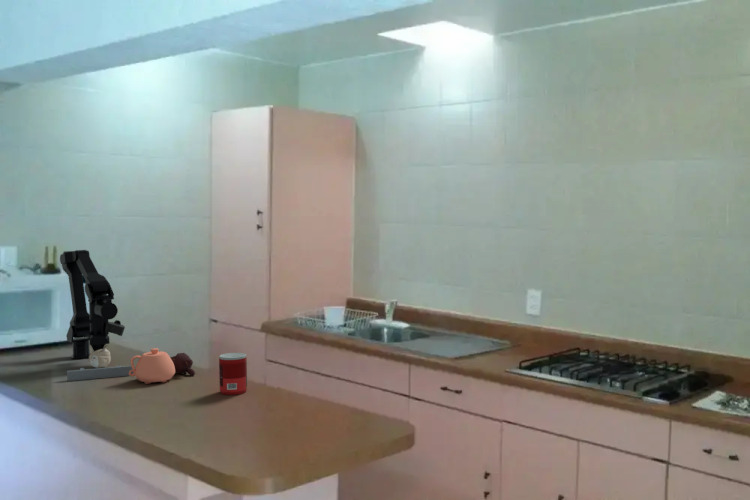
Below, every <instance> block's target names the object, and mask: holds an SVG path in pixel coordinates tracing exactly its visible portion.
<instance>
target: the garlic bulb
mask: <svg viewBox="0 0 750 500" xmlns="http://www.w3.org/2000/svg"><path fill="white" fill-rule="evenodd" d="M107 347H108V344H106V345H105V346H104V348H103V349H100V350H97V351H94V350H93V351H92V352H90V353H91V354H90V356H89V358H88V362H89V364H90V365H91V366H92V367H93V368H94V369H96V368H107V366H108V365H109V364H110V363H111V360H112V356H111V352H110V350H109V349H107Z"/></svg>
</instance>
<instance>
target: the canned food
mask: <svg viewBox="0 0 750 500" xmlns="http://www.w3.org/2000/svg"><path fill="white" fill-rule="evenodd" d="M247 362H248V359H247V354H246V353H245V352H244V353H243V352H228V353H222V354H219V355H218V367H219V368H218V372H219V392H220V394H221V395H224V396H236V395H242V394H244V393H246V392H247V390H248V367H247V366H248V363H247Z"/></svg>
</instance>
